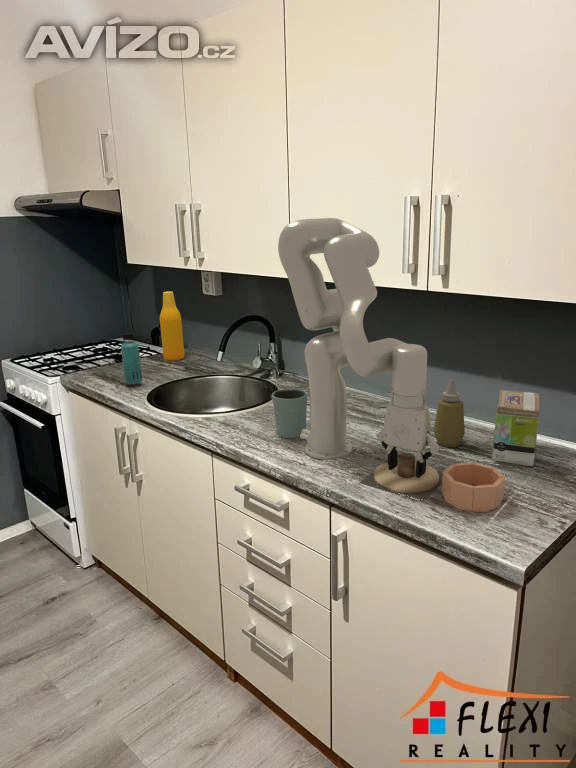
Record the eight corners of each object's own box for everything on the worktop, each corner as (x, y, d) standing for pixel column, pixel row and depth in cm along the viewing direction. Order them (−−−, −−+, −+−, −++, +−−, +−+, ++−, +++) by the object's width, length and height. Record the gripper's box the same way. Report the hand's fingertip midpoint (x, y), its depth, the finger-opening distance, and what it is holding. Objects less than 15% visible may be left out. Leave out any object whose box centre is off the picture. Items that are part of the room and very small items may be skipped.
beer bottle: (163, 356, 262) (157, 291, 253) (184, 354, 263) (179, 290, 254) (163, 361, 253) (156, 294, 244) (184, 359, 254) (179, 293, 246)
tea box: (534, 467, 143) (540, 410, 139) (491, 462, 147) (495, 406, 142) (534, 444, 156) (539, 391, 152) (494, 440, 160) (498, 388, 156)
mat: (358, 484, 137) (358, 482, 137) (392, 460, 149) (392, 459, 149) (421, 503, 127) (421, 501, 127) (452, 476, 139) (452, 475, 139)
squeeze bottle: (427, 444, 158) (429, 380, 153) (443, 436, 164) (446, 374, 158) (454, 452, 153) (457, 386, 147) (469, 443, 158) (473, 379, 153)
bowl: (434, 502, 128) (435, 477, 126) (456, 482, 137) (458, 458, 135) (488, 519, 120) (490, 492, 119) (508, 496, 129) (511, 471, 128)
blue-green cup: (296, 441, 163) (295, 401, 159) (266, 435, 168) (264, 395, 164) (314, 429, 171) (313, 390, 168) (285, 424, 176) (283, 386, 173)
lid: (361, 482, 137) (362, 460, 135) (393, 460, 148) (393, 439, 147) (420, 500, 128) (421, 476, 126) (449, 475, 139) (450, 452, 137)
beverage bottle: (132, 389, 216) (126, 335, 210) (121, 386, 220) (115, 333, 214) (146, 384, 221) (141, 332, 215) (135, 381, 225) (129, 330, 219)
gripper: (366, 397, 135) (366, 468, 140) (437, 411, 124) (433, 487, 130) (383, 388, 140) (382, 457, 146) (451, 401, 130) (447, 475, 135)
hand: (406, 471), depth 137 cm, fingers open, 6 cm apart
